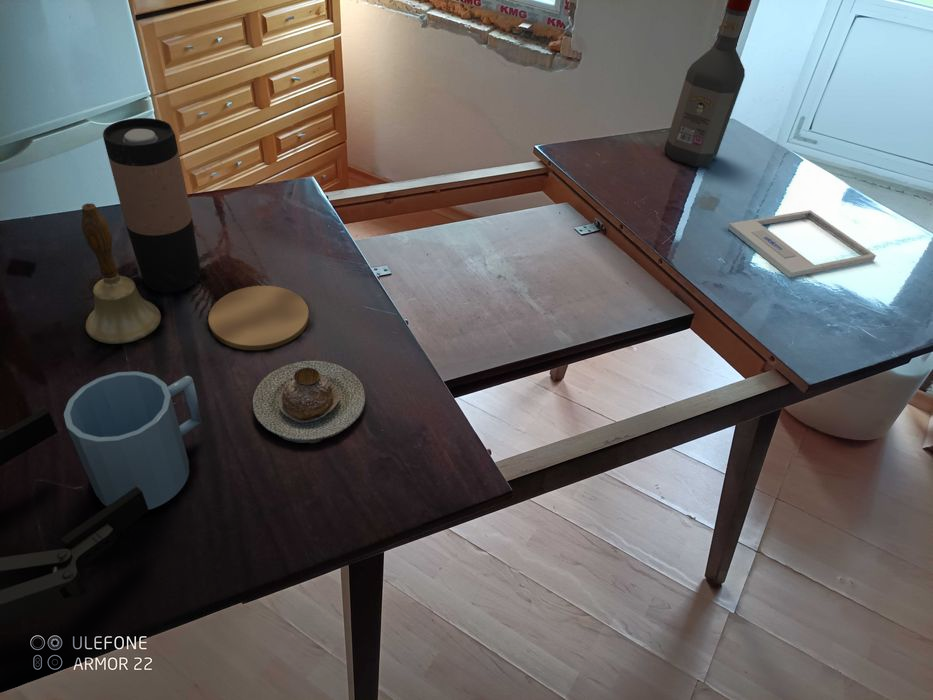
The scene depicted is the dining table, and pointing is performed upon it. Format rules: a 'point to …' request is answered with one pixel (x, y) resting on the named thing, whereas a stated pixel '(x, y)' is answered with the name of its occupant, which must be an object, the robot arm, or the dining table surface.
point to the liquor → (709, 95)
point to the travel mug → (154, 201)
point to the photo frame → (786, 255)
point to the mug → (132, 435)
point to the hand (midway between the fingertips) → (95, 457)
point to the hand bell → (114, 291)
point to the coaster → (258, 317)
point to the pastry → (308, 401)
